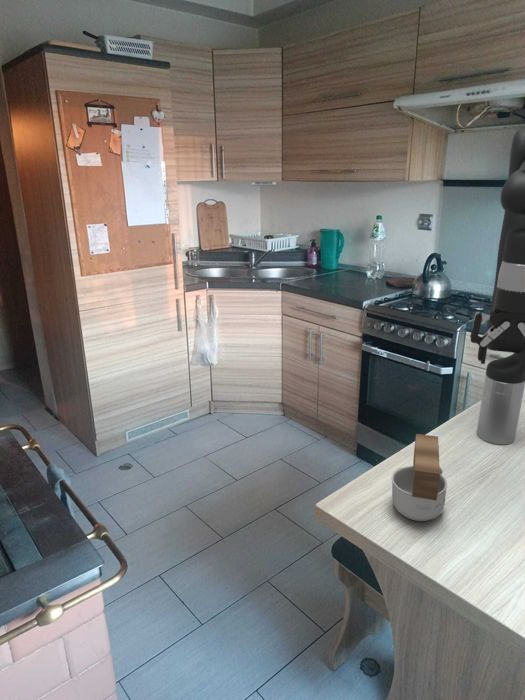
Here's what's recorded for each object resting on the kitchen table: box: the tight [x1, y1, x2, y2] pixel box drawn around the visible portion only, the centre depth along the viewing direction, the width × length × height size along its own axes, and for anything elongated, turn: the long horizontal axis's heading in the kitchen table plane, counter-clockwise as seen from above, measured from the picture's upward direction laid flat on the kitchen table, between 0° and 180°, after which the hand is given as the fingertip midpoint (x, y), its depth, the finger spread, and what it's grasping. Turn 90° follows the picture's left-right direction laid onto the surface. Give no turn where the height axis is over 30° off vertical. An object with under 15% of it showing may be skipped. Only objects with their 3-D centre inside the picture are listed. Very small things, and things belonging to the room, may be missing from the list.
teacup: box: [391, 465, 448, 522], centre depth 103 cm, size 14×11×8 cm
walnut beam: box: [412, 433, 441, 501], centre depth 100 cm, size 14×4×6 cm, turn 163°
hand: (505, 365), depth 99 cm, fingers open, 8 cm apart
